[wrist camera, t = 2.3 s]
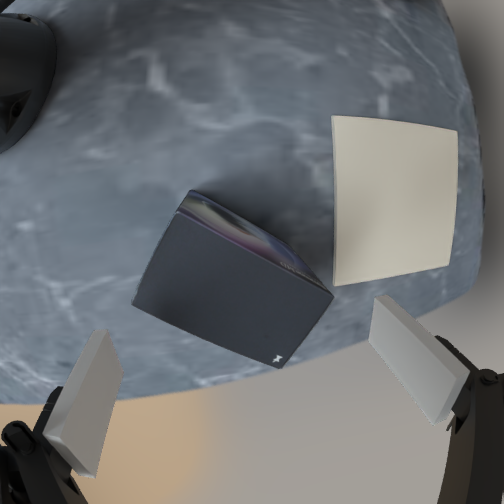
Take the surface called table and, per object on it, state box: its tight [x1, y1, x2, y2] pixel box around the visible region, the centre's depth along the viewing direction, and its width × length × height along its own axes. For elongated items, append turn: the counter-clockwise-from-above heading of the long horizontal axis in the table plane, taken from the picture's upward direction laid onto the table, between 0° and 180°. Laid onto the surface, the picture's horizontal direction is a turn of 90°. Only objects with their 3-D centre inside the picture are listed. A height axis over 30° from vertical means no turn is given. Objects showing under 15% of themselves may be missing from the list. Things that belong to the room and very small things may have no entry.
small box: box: [131, 190, 335, 369], centre depth 21 cm, size 11×6×10 cm, turn 59°
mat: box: [331, 116, 458, 286], centre depth 26 cm, size 16×16×1 cm
